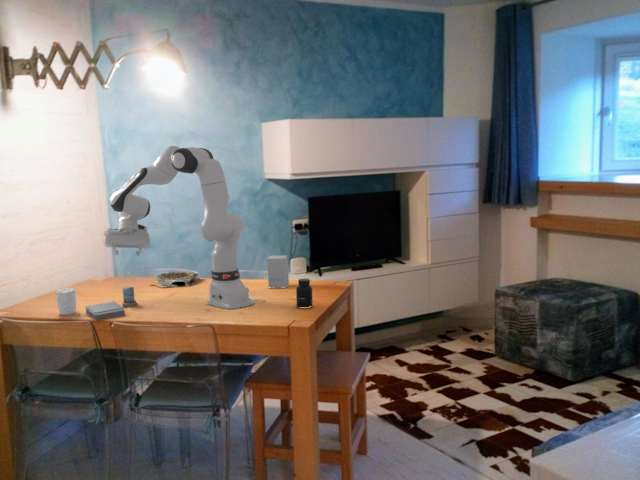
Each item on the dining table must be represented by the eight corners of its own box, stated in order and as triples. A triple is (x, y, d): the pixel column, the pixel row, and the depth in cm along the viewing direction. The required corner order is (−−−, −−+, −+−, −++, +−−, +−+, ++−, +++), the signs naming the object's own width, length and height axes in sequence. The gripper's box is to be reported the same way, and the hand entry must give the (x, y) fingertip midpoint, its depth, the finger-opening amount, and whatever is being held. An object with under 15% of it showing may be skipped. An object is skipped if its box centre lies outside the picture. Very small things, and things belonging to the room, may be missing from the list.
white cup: (71, 309, 260) (69, 287, 259) (81, 312, 255) (79, 289, 254) (54, 313, 254) (52, 290, 253) (63, 316, 249) (61, 293, 248)
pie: (141, 283, 312) (141, 274, 311) (188, 275, 330) (187, 267, 329) (166, 291, 291) (166, 281, 290) (214, 283, 309) (214, 273, 308)
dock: (125, 314, 249) (124, 307, 249) (95, 320, 242) (94, 312, 242) (114, 308, 261) (113, 301, 260) (85, 313, 254) (85, 306, 253)
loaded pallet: (124, 303, 268) (123, 286, 267) (136, 302, 269) (134, 286, 268) (122, 307, 262) (121, 290, 260) (134, 306, 262) (133, 289, 261)
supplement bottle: (298, 309, 248) (297, 281, 247) (295, 305, 255) (294, 278, 253) (314, 308, 250) (313, 280, 248) (310, 304, 257) (309, 277, 255)
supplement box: (289, 284, 297) (288, 255, 295) (286, 288, 288) (285, 258, 286) (271, 284, 298) (270, 255, 296) (268, 288, 289) (266, 258, 287)
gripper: (104, 224, 275) (103, 250, 268) (150, 227, 282) (150, 252, 275) (104, 231, 280) (103, 257, 273) (149, 233, 287) (149, 258, 280)
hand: (127, 255), depth 274 cm, fingers open, 8 cm apart
